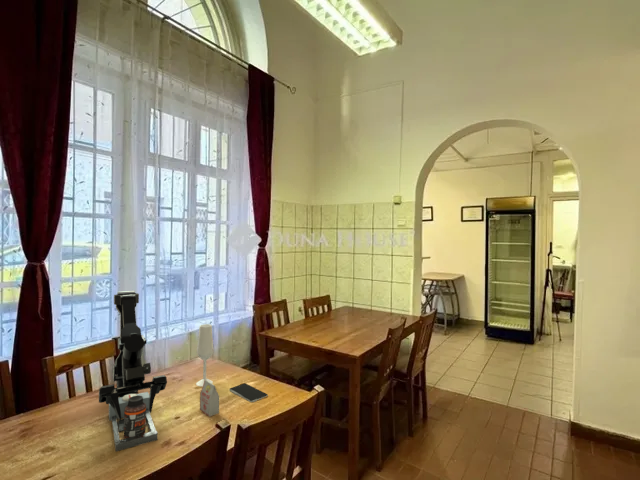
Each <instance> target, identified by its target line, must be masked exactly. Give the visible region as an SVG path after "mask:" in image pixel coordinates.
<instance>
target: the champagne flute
mask: <svg viewBox="0 0 640 480" xmlns="http://www.w3.org/2000/svg"><path fill="white" fill-rule="evenodd" d="M198 329H199V331H198V337H197V347H196V355H197V356H198V357H199V358H200V359H201V360H203V362H202V363H203V364H202V365H203V368H202V369H203V370H202V371H203V372H202V373H203V375H202V376H203V377H202V379H200V380H198V381H196V383H195V385H196V386H197V387H203V384H204V381H205V380H207V381H208V382H210V383H211V384H213V382H214V381H213V380H211V379H209V378H208V377H207V361H208V360H209V359H210V358H211V357H212V355H213V354H214V341H213V337H214V336H213V326H212V324H209V323H205V324H200V325H199V327H198Z"/></svg>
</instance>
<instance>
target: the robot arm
mask: <svg viewBox="0 0 640 480" xmlns="http://www.w3.org/2000/svg"><path fill="white" fill-rule="evenodd" d="M139 297H140V293H137V292H136V291H135V290H127V291H126V290H125V291H122V290H121V291H117V293H116V294H114V295H113V304H114V305H115V309H116V311H118V313H119V317H120V318H119V319H120V320H119V322H120V323H119V324H120V325H119V326H120V327H119V331H120V332H119V337H117V349H118V350H119V354H118V356H117V358H116V359H115V364H113V368H112V369H113V370H112V380H113V382H116V387H115V384H107V385H102V386H100V387H99V389H98V403H101V404H102V403H105V405H109V404H110V405H111V406H112V408H113V409H114V410H115V412H116V414H117V416H118V418H119V419H118V420H121V419H122V418H121V411H120V405H119V399H118V398H120V397H123V396H125V395H128V394H138V392H139V391H142V390H146V389H149V390H150V391H149V392H148V393H149V411H150V414H151V413H152V410H153V406H154V400H155V397H156V395H157V394H159V393H160V392H161V391H164V390H166V387H167V383H168V379H167V378H168V377H167V376H166V375H164V374H163V375H156V376H153V377H152V380H150V381H145V380H146V379H145V378H146V377H145V375H149V374H151V372H152V369H151V367H152V366H151V362H146V363H144V364H143V360H142V356H143V353H144V348H145V345H146V344H147V339H146V337H145V336H144V334H142V329H141V327H140V326H138V325H137V317H136V307H137V304H139V303H140V298H139Z"/></svg>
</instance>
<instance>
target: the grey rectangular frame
mask: <svg viewBox="0 0 640 480" xmlns="http://www.w3.org/2000/svg"><path fill="white" fill-rule="evenodd" d="M146 425H147V427H148V429H149V432H145V433H144V434H140V435H136V436H133V437H129V438H122V439H121V437H120V433H121V432H122V433H123V432H124V418H121V420H119V419H116V416H112V420H111V427H112V434H113V442H114V447H115V452H118V451H123V450H126V449H131V448H134V447H137V446H140V445H144V444H149V443H151V442H155V441H158V434H159V433H158V431H157V429H156V427H155V425H154V421H153V418H152V416H151V413H150V412H149V409H148V408H147V409H146Z"/></svg>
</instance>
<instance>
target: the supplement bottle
mask: <svg viewBox="0 0 640 480" xmlns="http://www.w3.org/2000/svg"><path fill="white" fill-rule="evenodd" d="M123 419H124V431H123V439H125V438H129V437H133V436H136V435H140V434H144V433H146V427H147V421H146V404H145V403H143V397H142V396H133V397H130V398H129V399H128V405H127V406H126V407H125V410H124V418H123Z"/></svg>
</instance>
